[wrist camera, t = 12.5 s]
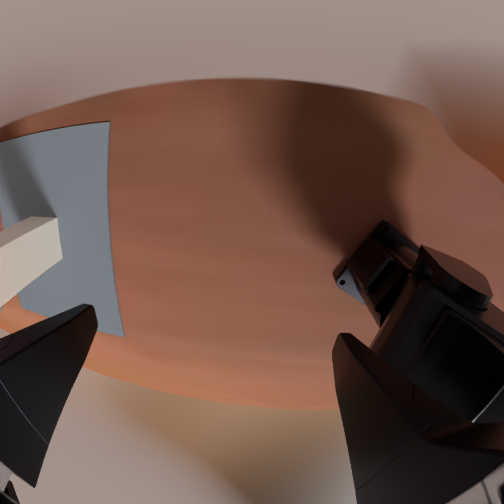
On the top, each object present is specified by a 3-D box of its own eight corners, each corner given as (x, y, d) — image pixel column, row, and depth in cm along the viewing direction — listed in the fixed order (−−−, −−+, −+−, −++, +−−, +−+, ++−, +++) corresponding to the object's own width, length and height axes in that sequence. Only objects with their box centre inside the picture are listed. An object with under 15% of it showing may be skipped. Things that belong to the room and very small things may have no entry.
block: (57, 217, 20) (-44, 276, 8) (62, 258, 21) (-24, 330, 10) (31, 216, 20) (-62, 267, 8) (36, 254, 21) (-45, 315, 10)
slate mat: (111, 122, 17) (109, 121, 17) (125, 335, 25) (124, 337, 24) (0, 142, 17) (-2, 143, 17) (23, 306, 24) (22, 307, 24)
